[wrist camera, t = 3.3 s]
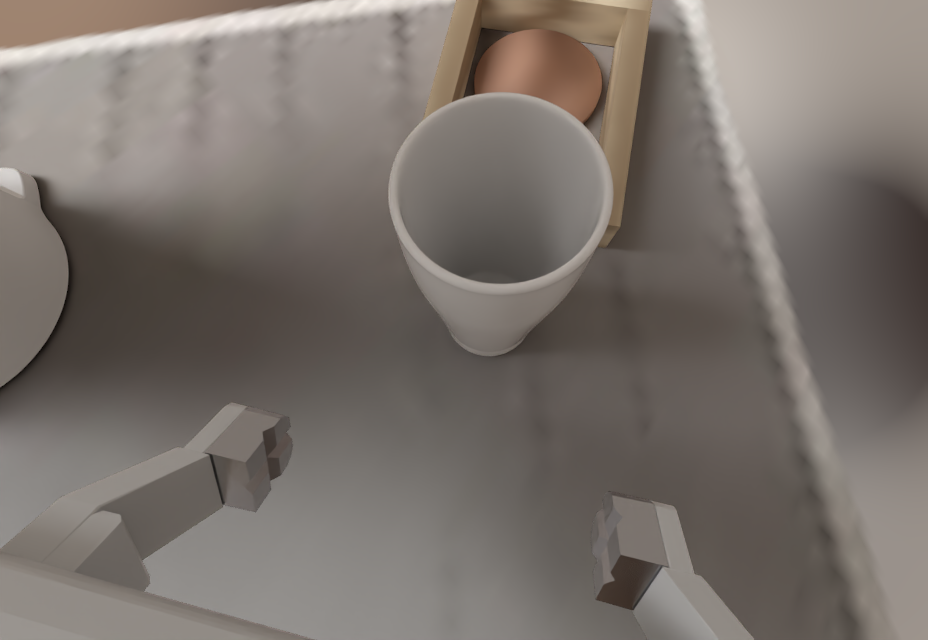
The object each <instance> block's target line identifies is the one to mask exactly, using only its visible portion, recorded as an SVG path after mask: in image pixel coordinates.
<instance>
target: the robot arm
mask: <svg viewBox="0 0 928 640" xmlns="http://www.w3.org/2000/svg"><path fill="white" fill-rule="evenodd" d="M68 276H69V272H68V260H67V255H66V251H65V248H64V245H63V242H62V240H61V238H60V236H59V234H58V233H57V231H56V230H55V228H54V227H53V226H52V224H51V223H50V222H49V221H48V219H47V218H46V217H45V215H44V214H43V212H42V210H41V205H40V197H39V191H38V186H37V183H36V181H35V179H34V178H33V177H32V176H30V175H28V174H26V173H24V172H21V171H19V170H17V169H14V168H0V387H1V386H3V385H4V384H6V383H7V382H8V381H9V380H11V379H12V378H13V377H14V376H16V375H17V374H18V373H19V372H20V371H21V370H22V369H23V368H24V367H25V366H26V365H27V364H28V363H29V362H30V361H31V360H32V359H33V358H34V357H35V355H36V354H37V353H38V352H39V351H40V349H41V348H42V346H43V345H44V344H45V342H46V341H47V339H48V338H49V336H50V334H51V333H52V331H53V329H54V327H55V325H56V323H57V321H58V319H59V316H60V314H61V311H62V308H63V305H64V302H65V298H66V293H67V288H68ZM290 427H291V426H290V420H289V417H287V416H284V415H280V414H276V413H273V412H269V411H265V410H261V409H257V408H254V407H249V406H245V405H241V404H237V403H233V402H232V403H230V404H227V405H226V406H224V407H223V408H222V409H221V410H220V411H219V412H218V413H217V414H216V415H215V416H214V417H213V418H212V420H211V421H210V422H209V423H208V424H207V425H206V426H205V427H204V428H203V429H202V430H201V431H200V432H199V433H198V434H197V435H196V436H195V437H194V438H193V439H192V440H191V441H190V442H189V443H188V444H187V445H186V446H185V447H184V448H181V447H176V448H174V449H172V450H169V451H167V452H165V453H162V454H160V455H158V456H155V457H153V458H151V459H148V460H146V461H144V462H141V463H139V464H137V465H134V466H132V467H130V468H127V469H125V470H122V471H120V472H118V473H115V474H113V475H111V476H108V477H106V478H104V479H101V480H99V481H97V482H94V483H92V484H90V485H87V486H85V487H83V488H80V489H78V490H76V491H73V492H71V493H69V494H66V495H64V496H62V497H60V498H59V499H58V500H57V501H55V502H54V503H53V504H52V505H51V506H50V507H49V508H47V509H46V510H45V511H44V512H43V513H42V514H40V515H39V516H38V517H37V518H36V519H35V520H33V521H32V522H31V523H30V524H29V525H28V526H27V527H25V528H24V529H23V530H22V531H21V532H20V533H18V534H17V535H16V536H15V537H14V538H13V539H11V540H10V541H9V542H8V543H7V544H6V545H4V546H3V547H2V548H1V549H0V640H315V639H311V638H307V637H304V636H300V635H297V634H293V633H290V632H286V631H283V630H279V629H275V628H272V627H268V626H265V625H261V624H258V623H254V622H250V621H247V620H243V619H240V618H236V617H233V616H229V615H226V614H222V613H218V612H215V611H211V610H208V609H204V608H201V607H197V606H194V605H190V604H186V603H183V602H179V601H176V600H172V599H169V598H165V597H161V596H158V595H154V594H151V593H147V592H144V590H145V589H146V588H147V587H148V585H149V584H150V576H149V574H148V572H147V570H146V567H145V565H144V563H143V561H142V560H143V559H145V558H146V557H148V556H149V555H151V554H152V553H154V552H155V551H157V550H158V549H160V548H162V547H163V546H165V545H166V544H168V543H169V542H171V541H172V540H174V539H175V538H177V537H178V536H180V535H181V534H183V533H184V532H186V531H187V530H189V529H190V528H192V527H193V526H195V525H196V524H198V523H199V522H201V521H202V520H204V519H205V518H207V517H209V516H210V515H212V514H213V513H215V512H216V511H218V510H219V509H221V508H222V507H223V505H226V506H230V507H235V508H239V509H243V510H248V511H252V512H256V511H257V510H258V508H259V507H260V505H261V504H262V502H263V501H264V499H265V498H266V497H267V495H268V494H269V492H270V491H271V482H270V481H271V480H273V479H275V478H276V477H278V476H280V475H281V474H282V473H283V471H284V470H285V468H286V467H287V465H288V462H289V460H290V457H291V454H292V447H293V444H292V438H291V437H290V436H289V435H288V433H287V431H288V430H289V428H290ZM602 501H603V509H602V510H600V511H598V512H597V513H596V516H595V518H594V520H593V525H592V530H591V551H592V553H593V555H594V556H595V558H596V559H597V563H596V565H595V567H594V569H593V576H594V588H595V600H599V601H602V602H606V603H609V604H613V605H616V606H620V607H623V608H627V609H630V610H633V612H632V613H633V614H634V616H635V618H636V620H637V621H638V623H639V625H640V627H641V629H642V630H643V632H644V634H645V636H646V637H647V639H648V640H755V639H754V638H753V637H752V636H751V635H750V633H749V632H748V631H747V630H746V629H745V627H744V626H743V625H742V624H741V623H740V621H739V620H738V619H737V618H736V617H735V615H734V614H733V613H732V612H731V611H730V609H729V608H728V607H727V606H726V605H725V603H724V602H723V601H722V600H721V599H720V597H719V596H718V595H717V594H716V593H715V591H714V590H713V589H712V588H711V587H710V585H709V584H708V583H707V582H706V581H705V579H704V578H703V577H702V576H699V575H696V574H695V573H694V569H693V566H692V562H691V559H690V555H689V552H688V548H687V545H686V541H685V538H684V534H683V531H682V527H681V524H680V520H679V517H678V513H677V510H676V509H675V507H674V506H672V505H668V504H663V503H659V502H655V501H650V500H648V499H643V498H638V497H634V496H629V495H625V494H620V493H616V492H611V491H608V492H607V493H606V494H605V496H604V498H603V500H602Z"/></svg>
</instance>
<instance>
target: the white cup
mask: <svg viewBox="0 0 928 640" xmlns="http://www.w3.org/2000/svg"><path fill="white" fill-rule="evenodd" d="M388 201H389V210H390V214H391V218H392V222H393V224H394V227H395V231H396V234H397V238H398V241H399V244H400V247H401V250H402V253H403V255H404V258H405V260H406V263H407V265H408V267H409V269H410V272H411V274H412V276H413V278H414V280H415V282H416V283H417V285H418V287H419V288H420V290H421V292H422V293H423V295H424V296H425V298H426V299H427V300H428V302H429V303H430V304H431V306H432V307H433V308H434V310H435V311H436V312H437V314H438V315H439V316H440V317H441V319H442V320H443V321H444V323H445V324H446V326H447V328H448V330H449V332H450V334H451V336H452V337H453V339H454V340H455V341H456V342H457V343H458V344H459V345H460V346H461V347H462V348H464V349H465V350H467V351H469V352H471V353H474V354H476V355H481V356H497V355H502V354H505V353H507V352H509V351H511V350H513V349H514V348H516V347H517V346H518V345H519V344H520V343H521V342H522V341H523V340H524V339H525V337H526V336H527V334H528V333H529V332H530V331H531V330H532V329H533V328H534V327H535V326H536V325H537V324H539V323H540V322H541V321H542V320H543V319H544V318H545V317H546V316H547V315H549V314H550V313H551V312H552V311H553V310H554V309H555V308H556V307H557V306H558V305H559V304H560V303H561V302H562V300H563V299H564V298H565V297H566V296H567V295H568V294H569V292H570V291H571V290H572V288H573V287H574V285H575V284H576V283H577V281H578V280H579V278H580V277H581V275H582V274H583V272H584V271H585V269H586V267H587V265H588V264H589V262H590V260H591V258H592V256H593V255H594V253H595V251H596V249H597V247H598V245H599V243H600V241H601V239H602V237H603V235H604V233H605V231H606V229H607V226H608V223H609V220H610V217H611V212H612V206H613V181H612V174H611V171H610V167H609V164H608V161H607V158H606V156H605V154H604V152H603V150H602V148H601V146H600V145H599V143H598V141H597V140H596V138H595V137H594V136H593V135H592V133H591V132H590V131H589V130H588V129H587V128H586V127H585V126H584V125H583V124H582V123H581V122H580V121H579V120H578V119H577V118H575V117H574V116H573V115H571V114H570V113H569V112H567V111H566V110H564V109H562V108H560V107H559V106H557V105H555V104H553V103H551V102H548V101H546V100H543V99H540V98H537V97H534V96H530V95H525V94H520V93H511V92H491V93H482V94H476V95H472V96H468V97H465V98H462V99H458V100H456V101H454V102H451V103H449V104H447V105H445V106H443V107H441V108H439V109H438V110H436V111H435V112H433V113H432V114H430V115H429V116H428V117H426V118H425V119H424V120H423V121H421V122H420V123H419V124H418V125H417V126H416V127H415V128H414V129H413V131H412V132H411V133H410V134H409V135H408V137H407V138H406V140H405V141H404V142H403V144H402V146H401V148H400V149H399V151H398V153H397V155H396V158H395V160H394V163H393V166H392V169H391V173H390V178H389V187H388Z"/></svg>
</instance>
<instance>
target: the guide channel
mask: <svg viewBox="0 0 928 640" xmlns="http://www.w3.org/2000/svg"><path fill="white" fill-rule="evenodd" d="M651 7H652V0H456V3H455V7H454V10H453V14H452V17H451V21H450V25H449V28H448V32H447V35H446V39H445V43H444V46H443V50H442V53H441V57H440V60H439V64H438V68H437V71H436V75H435V78H434V82H433V86H432V89H431V93H430V96H429V100H428V103H427V107H426V111H425V114H424V118H423V120H424V119H425V118H426V117H428V116H429V115H430V114H432V113H433V112H435V111H436V110H438V109H439V108H441V107H443V106H445V105H447V104H449V103H451V102H454V101H456V100H458V99H462V98H464V94H465V90H466V86H467V82H468V78H469V74H470V70H471V66H472V62H473V59H474V55H475V51H476V47H477V43H478V39H479V35H480V31H481V28H488V29H495V30H502V31H509V32H515V33H512V34H509V35H507V36H505V37H503V38H501V39H500V40H498V41H497V42H495V43H494V44H493V45H491V46H490V47H489V48H488V49H487V50H486V52H485V53H484V54H483V56H482V57H481V59H480V61H479V63H478V65H477V68H476V71H475V77H474V91H475V95H476V94H482V93H491V92H511V93H520V94H525V95H530V96H534V97H537V98H540V99H543V100H546V101H548V102H551V103H553V104H555V105H557V106H559V107H560V108H562V109H564V110H566V111H567V112H569V113H570V114H571V115H573V116H574V117H575V118H577V119H578V120H579V121H580V122H581V123H582V124H584V123H585V122H586V121H587V120H588V119H589V117H590V116H591V115H592V113H593V112H594V110H595V108H596V105H597V103H598V100H599V97H600V94H601V90H602V75H601V71H600V68H599V65H598V63H597V61H596V59H595V58H594V56H593V55H592V53H591V52H590V51H589V50H588V49H587V48H586V47H585V46H584V45H583V44H581V43H580V42H585V43H592V44H599V45H606V46H613V47H614V53H613V59H612V65H611V71H610V77H609V83H608V89H607V96H606V102H605V108H604V114H603V120H602V126H601V132H600V139H599V145H600V146H601V148H602V150H603V152H604V154H605V156H606V158H607V161H608V164H609V167H610V171H611V174H612V181H613V206H612V212H611V217H610V220H609V223H608V226H607V229H606V231H605V233H604V235H603V237H602V239H601V241H600V243H599V245H598V247H602V248H606V247H607V245H608V244H609V242H610V241H611V240H612V238H613V237H614V235H615V234H616V232H617V231H618V230H619V228H620V226H621V218H622V211H623V204H624V197H625V190H626V183H627V176H628V169H629V162H630V155H631V148H632V141H633V134H634V127H635V120H636V113H637V106H638V99H639V91H640V84H641V77H642V70H643V63H644V56H645V49H646V42H647V35H648V28H649V21H650V14H651Z"/></svg>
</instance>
